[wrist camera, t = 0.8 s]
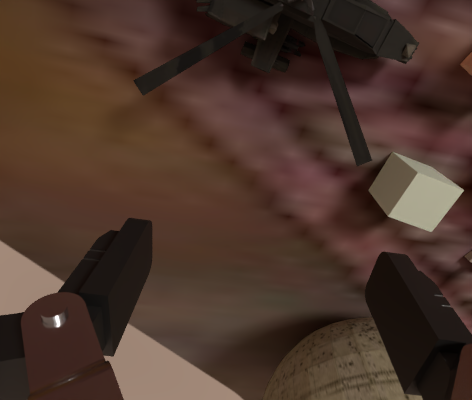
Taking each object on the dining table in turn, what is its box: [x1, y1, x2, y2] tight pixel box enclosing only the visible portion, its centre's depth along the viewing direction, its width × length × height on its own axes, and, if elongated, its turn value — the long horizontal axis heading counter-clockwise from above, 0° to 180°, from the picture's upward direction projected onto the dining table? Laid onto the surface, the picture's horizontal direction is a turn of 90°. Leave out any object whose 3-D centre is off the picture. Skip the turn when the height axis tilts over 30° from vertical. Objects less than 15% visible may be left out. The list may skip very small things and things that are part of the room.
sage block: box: [368, 152, 464, 232], centre depth 34 cm, size 5×5×6 cm
